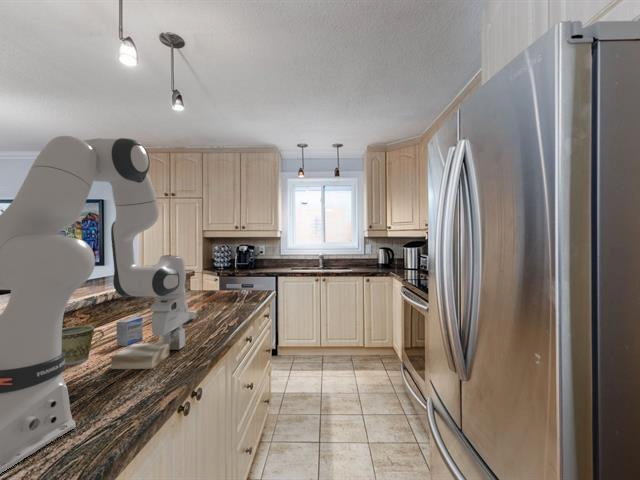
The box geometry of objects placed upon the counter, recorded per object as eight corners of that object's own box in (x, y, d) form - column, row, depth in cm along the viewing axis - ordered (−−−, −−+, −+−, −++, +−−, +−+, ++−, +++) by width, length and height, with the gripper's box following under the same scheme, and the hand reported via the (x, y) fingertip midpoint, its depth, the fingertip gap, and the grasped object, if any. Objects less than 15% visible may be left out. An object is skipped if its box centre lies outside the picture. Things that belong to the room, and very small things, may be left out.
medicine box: (126, 346, 114) (126, 322, 114) (116, 345, 115) (116, 321, 115) (143, 339, 122) (143, 317, 122) (133, 339, 123) (132, 316, 123)
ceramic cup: (46, 369, 94) (46, 335, 94) (64, 357, 103) (63, 326, 103) (97, 364, 97) (97, 332, 97) (109, 353, 107) (109, 323, 107)
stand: (152, 368, 94) (151, 355, 94) (111, 368, 94) (111, 355, 94) (169, 355, 105) (169, 343, 105) (133, 355, 105) (133, 343, 105)
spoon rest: (172, 318, 156) (172, 303, 156) (197, 316, 159) (197, 302, 159) (161, 331, 133) (161, 314, 133) (191, 329, 136) (191, 312, 136)
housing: (179, 349, 109) (179, 331, 109) (159, 349, 109) (159, 331, 109) (185, 345, 114) (184, 327, 114) (165, 345, 114) (165, 327, 114)
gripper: (176, 296, 122) (176, 332, 122) (147, 307, 101) (147, 351, 101) (192, 296, 122) (193, 332, 122) (167, 307, 101) (167, 350, 101)
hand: (172, 341), depth 111 cm, fingers closed on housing, 4 cm apart
